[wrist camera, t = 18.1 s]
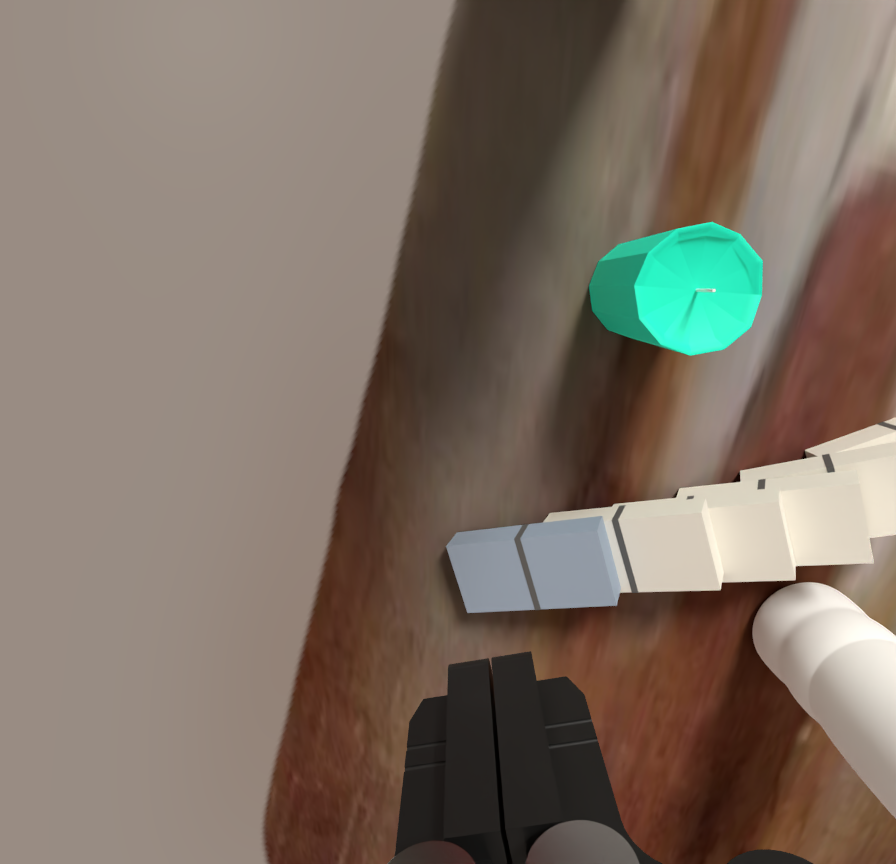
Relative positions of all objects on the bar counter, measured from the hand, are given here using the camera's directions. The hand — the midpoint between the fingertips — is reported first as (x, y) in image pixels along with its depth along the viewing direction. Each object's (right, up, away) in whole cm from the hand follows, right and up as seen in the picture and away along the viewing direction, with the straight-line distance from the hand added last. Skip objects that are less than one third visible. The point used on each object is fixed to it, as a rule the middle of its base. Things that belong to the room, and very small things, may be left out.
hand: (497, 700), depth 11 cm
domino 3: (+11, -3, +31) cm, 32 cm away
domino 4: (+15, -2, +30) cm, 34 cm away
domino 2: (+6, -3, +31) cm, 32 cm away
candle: (+11, +14, +28) cm, 33 cm away
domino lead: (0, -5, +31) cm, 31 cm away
